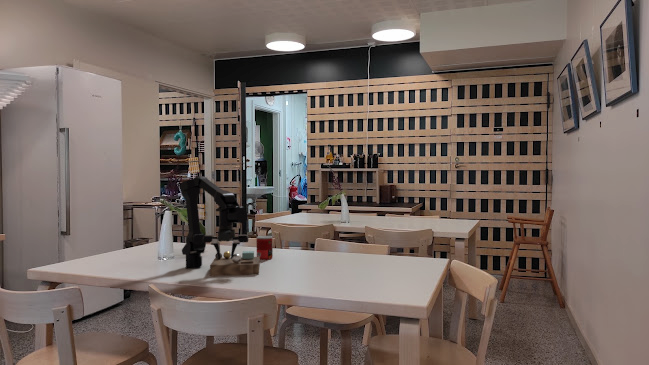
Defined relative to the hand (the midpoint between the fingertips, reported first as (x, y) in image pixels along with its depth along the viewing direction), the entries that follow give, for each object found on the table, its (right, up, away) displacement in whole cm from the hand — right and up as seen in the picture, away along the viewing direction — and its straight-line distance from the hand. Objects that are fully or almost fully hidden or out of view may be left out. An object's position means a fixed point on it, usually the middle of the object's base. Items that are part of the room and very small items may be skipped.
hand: (225, 259), depth 197 cm
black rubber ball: (-5, 0, +10) cm, 11 cm away
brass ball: (-2, 0, +12) cm, 12 cm away
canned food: (+12, -6, +36) cm, 38 cm away
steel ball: (+4, 0, +1) cm, 4 cm away
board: (+3, -6, +6) cm, 9 cm away
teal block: (+8, -1, +12) cm, 14 cm away
